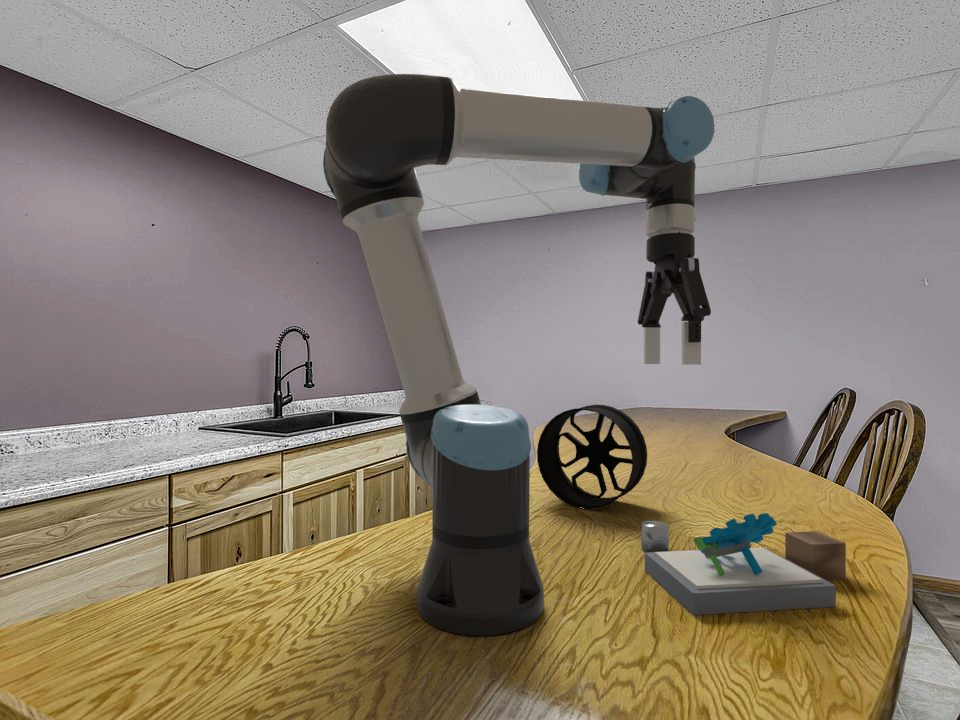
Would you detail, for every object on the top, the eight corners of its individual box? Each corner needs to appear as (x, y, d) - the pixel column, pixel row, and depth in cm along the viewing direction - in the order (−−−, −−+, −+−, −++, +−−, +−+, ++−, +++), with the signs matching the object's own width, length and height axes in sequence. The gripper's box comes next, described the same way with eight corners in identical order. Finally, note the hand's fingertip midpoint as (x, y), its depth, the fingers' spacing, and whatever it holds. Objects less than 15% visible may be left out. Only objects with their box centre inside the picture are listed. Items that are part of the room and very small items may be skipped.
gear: (752, 538, 73) (783, 502, 66) (778, 580, 69) (813, 546, 62) (679, 554, 71) (702, 518, 64) (700, 598, 67) (727, 565, 60)
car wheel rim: (647, 505, 107) (647, 406, 107) (632, 517, 99) (632, 410, 99) (556, 491, 118) (556, 402, 118) (536, 502, 109) (536, 405, 109)
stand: (693, 615, 61) (693, 589, 61) (644, 570, 74) (644, 549, 74) (835, 606, 63) (835, 582, 63) (764, 564, 76) (764, 544, 76)
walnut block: (811, 582, 70) (811, 544, 70) (785, 567, 75) (785, 532, 75) (845, 580, 71) (845, 543, 71) (817, 566, 76) (817, 531, 76)
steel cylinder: (648, 555, 79) (648, 529, 79) (637, 546, 83) (637, 521, 83) (673, 554, 80) (673, 528, 80) (661, 545, 84) (661, 520, 84)
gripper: (736, 216, 75) (736, 364, 75) (657, 252, 100) (657, 363, 100) (687, 214, 74) (687, 364, 74) (619, 251, 99) (619, 363, 99)
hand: (670, 364), depth 87 cm, fingers open, 13 cm apart
